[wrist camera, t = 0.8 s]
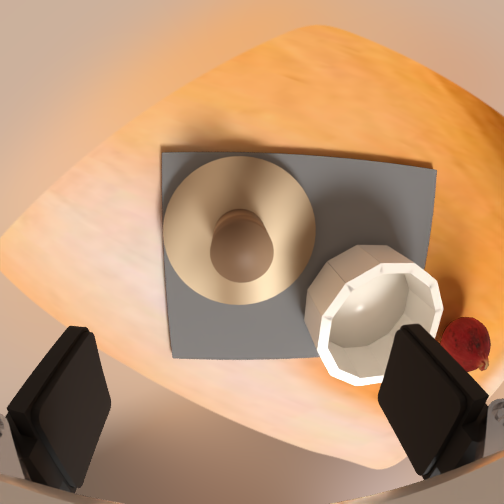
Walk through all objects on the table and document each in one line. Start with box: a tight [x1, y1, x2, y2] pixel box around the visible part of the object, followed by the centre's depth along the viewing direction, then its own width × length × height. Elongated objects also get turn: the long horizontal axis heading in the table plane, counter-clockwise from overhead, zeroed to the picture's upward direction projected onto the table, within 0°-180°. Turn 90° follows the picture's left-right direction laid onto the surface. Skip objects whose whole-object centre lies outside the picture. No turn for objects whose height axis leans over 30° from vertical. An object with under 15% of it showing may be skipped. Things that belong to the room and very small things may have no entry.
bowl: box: [304, 245, 443, 386], centre depth 26 cm, size 11×11×6 cm
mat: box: [162, 152, 437, 360], centre depth 28 cm, size 24×19×1 cm
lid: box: [163, 156, 316, 305], centre depth 23 cm, size 12×12×6 cm
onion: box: [441, 317, 491, 372], centre depth 28 cm, size 6×6×8 cm
